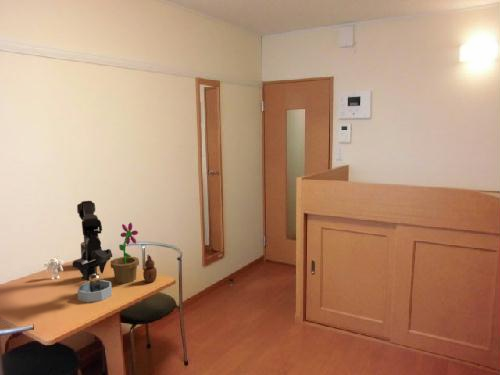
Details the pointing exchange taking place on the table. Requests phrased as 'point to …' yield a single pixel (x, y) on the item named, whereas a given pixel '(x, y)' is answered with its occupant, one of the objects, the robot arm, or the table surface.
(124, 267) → the flowerpot
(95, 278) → the battery cell
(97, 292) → the ceramic bowl
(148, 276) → the wooden figurine
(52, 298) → the table surface
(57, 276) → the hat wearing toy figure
